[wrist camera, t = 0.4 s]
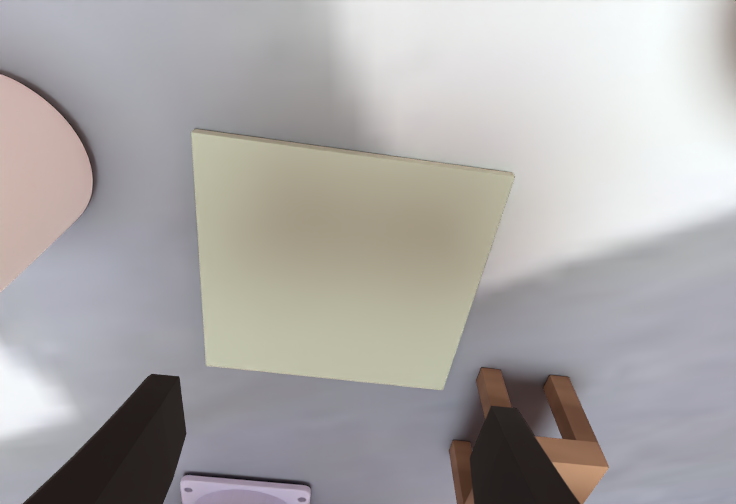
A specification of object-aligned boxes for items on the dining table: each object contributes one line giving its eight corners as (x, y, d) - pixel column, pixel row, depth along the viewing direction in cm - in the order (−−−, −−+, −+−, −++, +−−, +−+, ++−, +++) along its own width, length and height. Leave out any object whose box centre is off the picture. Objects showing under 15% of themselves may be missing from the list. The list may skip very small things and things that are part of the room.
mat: (441, 384, 25) (442, 390, 24) (208, 359, 24) (206, 365, 24) (512, 172, 18) (515, 177, 18) (194, 128, 17) (191, 132, 17)
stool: (524, 457, 28) (551, 547, 24) (448, 450, 28) (462, 540, 24) (568, 377, 24) (609, 467, 20) (481, 367, 24) (504, 457, 20)
